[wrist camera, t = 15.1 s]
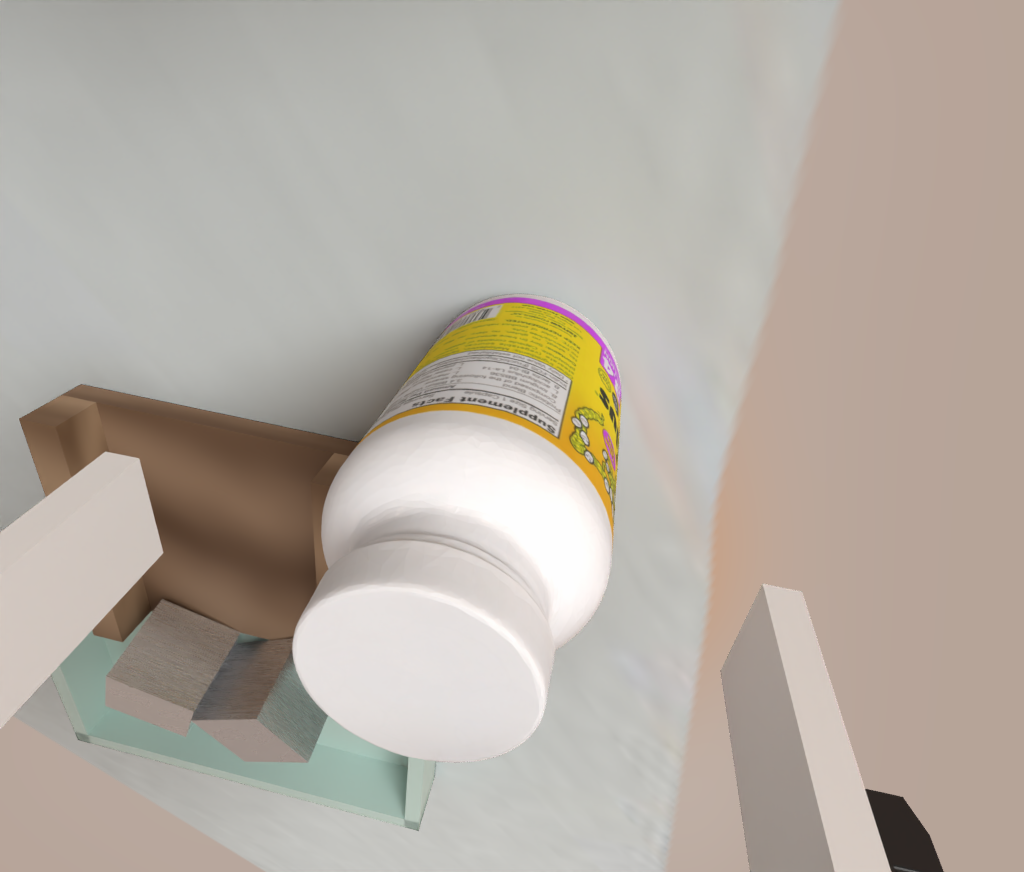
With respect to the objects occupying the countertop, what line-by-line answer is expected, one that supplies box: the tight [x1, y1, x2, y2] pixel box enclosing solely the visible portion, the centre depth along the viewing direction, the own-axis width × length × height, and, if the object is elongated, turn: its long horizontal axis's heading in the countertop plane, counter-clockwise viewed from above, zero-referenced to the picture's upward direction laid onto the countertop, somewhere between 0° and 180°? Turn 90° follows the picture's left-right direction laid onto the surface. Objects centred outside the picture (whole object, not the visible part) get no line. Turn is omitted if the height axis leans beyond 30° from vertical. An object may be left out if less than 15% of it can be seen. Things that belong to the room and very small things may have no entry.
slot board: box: [19, 384, 358, 642], centre depth 27 cm, size 12×13×3 cm
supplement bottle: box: [292, 294, 621, 763], centre depth 16 cm, size 7×7×13 cm
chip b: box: [191, 638, 328, 763], centre depth 30 cm, size 4×4×4 cm
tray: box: [51, 611, 436, 831], centre depth 33 cm, size 10×20×3 cm, turn 83°
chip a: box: [105, 599, 241, 737], centre depth 30 cm, size 4×4×4 cm
